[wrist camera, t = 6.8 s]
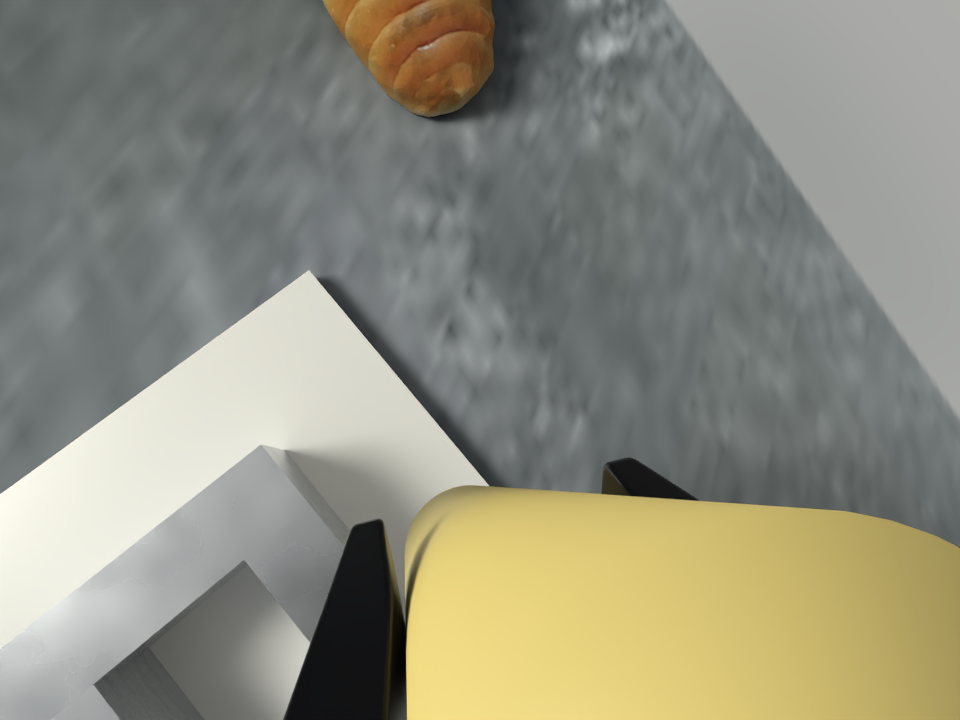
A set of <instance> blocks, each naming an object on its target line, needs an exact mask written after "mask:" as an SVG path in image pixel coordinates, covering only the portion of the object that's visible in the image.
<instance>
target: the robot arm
mask: <svg viewBox="0 0 960 720" xmlns="http://www.w3.org/2000/svg"><path fill="white" fill-rule="evenodd" d="M602 494H607V495H621V496H635V497H650V498H664V499H678V500H693V501H700V500H698V499H696V498H695V497H693V496H692V495H690V494H689V493H687V492H686V491H684V490H682V489H681V488H679V487H678V486H676V485H675V484H673V483H672V482H670V481H668V480H667V479H665V478H664V477H662V476H661V475H659V474H658V473H656V472H654V471H653V470H651V469H650V468H648V467H647V466H645V465H644V464H642V463H640V462H639V461H637V460H635V459H633V458H624V459H620V460H615V461H611V462H608V463H606V464H605V466H604V468H603V477H602ZM283 720H407V679H406V626H405V620H404V615H403V610H402V604H401V599H400V593H399V588H398V582H397V577H396V571H395V566H394V561H393V557H392V553H391V549H390V545H389V541H388V536H387V532H386V528H385V525H384V522H383V520H381V519H373V520H369V521H365V522H361V523H357V524H355V525H354V526H353V527H352V528H351V530H350V533H349V536H348V539H347V541H346V544H345V547H344V550H343V553H342V555H341V558H340V561H339V564H338V567H337V569H336V572H335V575H334V578H333V581H332V583H331V586H330V589H329V592H328V595H327V597H326V600H325V603H324V606H323V609H322V611H321V614H320V617H319V620H318V623H317V625H316V628H315V631H314V634H313V637H312V639H311V642H310V645H309V648H308V651H307V653H306V656H305V659H304V662H303V665H302V667H301V670H300V673H299V676H298V679H297V682H296V684H295V687H294V690H293V693H292V696H291V698H290V701H289V704H288V707H287V710H286V712H285V715H284V718H283Z"/></svg>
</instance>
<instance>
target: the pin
mask: <svg viewBox="0 0 960 720" xmlns="http://www.w3.org/2000/svg"><path fill="white" fill-rule="evenodd" d="M405 614H406V679H407V720H960V548H959V547H957V546H955V545H953V544H951V543H949V542H947V541H945V540H943V539H941V538H939V537H937V536H935V535H932V534H929V533H926V532H923V531H921V530H918V529H915V528H912V527H909V526H906V525H903V524H900V523H898V522H895V521H892V520H887V519H882V518H877V517H872V516H867V515H862V514H857V513H852V512H847V511H836V510H821V509H807V508H793V507H778V506H764V505H750V504H736V503H721V502H707V501H693V500H678V499H664V498H650V497H635V496H621V495H607V494H592V493H578V492H564V491H549V490H535V489H521V488H507V487H492V486H478V485H465V486H459V487H454V488H451V489H448V490H446V491H444V492H442V493H440V494H438V495H436V496H435V497H434V498H432V499H431V500H430V501H429V502H427V503H426V504H425V505H424V506H423V508H422V509H421V510H420V511H419V512H418V514H417V515H416V517H415V518H414V520H413V522H412V524H411V526H410V529H409V532H408V535H407V539H406V544H405Z"/></svg>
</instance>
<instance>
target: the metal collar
mask: <svg viewBox="0 0 960 720" xmlns="http://www.w3.org/2000/svg"><path fill="white" fill-rule="evenodd" d="M349 533H350V530H349V529H348V528H347V526H346V525H345V524H344V523H343V522H342V520H341V519H340V518H339V517H338V515H337V514H336V513H335V512H334V510H333V509H332V508H331V507H330V506H329V504H328V503H327V502H326V501H325V499H324V498H323V497H322V496H321V494H320V493H319V492H318V491H317V490H316V488H315V487H314V486H313V485H312V483H311V482H310V481H309V480H308V478H307V477H306V476H305V475H304V474H303V472H302V471H301V470H300V469H299V467H298V466H297V465H296V464H295V462H294V461H293V460H292V459H291V457H290V456H289V455H288V454H287V453H286V451H285V450H283V449H279V448H274V447H270V446H266V445H259V446H258V447H257V448H256V449H254V450H253V451H252V452H251V453H249V454H248V455H247V456H245V457H244V458H243V459H242V460H240V461H239V462H238V463H237V464H235V465H234V466H233V467H231V468H230V469H229V470H228V471H226V472H225V473H224V474H223V475H221V476H220V477H219V478H217V479H216V480H215V481H214V482H212V483H211V484H210V485H208V486H207V487H206V488H205V489H203V490H202V491H201V492H200V493H198V494H197V495H196V496H194V497H193V498H192V499H191V500H189V501H188V502H187V503H186V504H184V505H183V506H182V507H180V508H179V509H178V510H177V511H175V512H174V513H173V514H172V515H170V516H169V517H168V518H166V519H165V520H164V521H163V522H161V523H160V524H159V525H157V526H156V527H155V528H154V529H152V530H151V531H150V532H149V533H147V534H146V535H145V536H143V537H142V538H141V539H140V540H138V541H137V542H136V543H135V544H133V545H132V546H131V547H129V548H128V549H127V550H126V551H124V552H123V553H122V554H121V555H119V556H118V557H117V558H115V559H114V560H113V561H112V562H110V563H109V564H108V565H106V566H105V567H104V568H103V569H101V570H100V571H99V572H98V573H96V574H95V575H94V576H92V577H91V578H90V579H89V580H87V581H86V582H85V583H84V584H82V585H81V586H80V587H78V588H77V589H76V590H75V591H73V592H72V593H71V594H70V595H68V596H67V597H66V598H64V599H63V600H62V601H61V602H59V603H58V604H57V605H55V606H54V607H53V608H52V609H50V610H49V611H48V612H47V613H45V614H44V615H43V616H41V617H40V618H39V619H38V620H36V621H35V622H34V623H33V624H31V625H30V626H29V627H27V628H26V629H25V630H24V631H22V632H21V633H20V634H18V635H17V636H16V637H15V638H13V639H12V640H11V641H10V642H8V643H7V644H6V645H4V646H3V647H2V648H1V649H0V720H204V718H203V717H202V716H201V714H200V713H199V712H198V711H197V709H196V708H195V707H194V705H193V704H192V703H191V702H190V700H189V699H188V698H187V696H186V695H185V694H184V692H183V691H182V690H181V689H180V687H179V686H178V685H177V683H176V682H175V681H174V680H173V678H172V677H171V676H170V674H169V673H168V672H167V670H166V669H165V668H164V667H163V665H162V664H161V663H160V661H159V660H158V659H157V658H156V656H155V655H154V654H153V652H152V651H151V650H150V648H149V647H150V646H151V645H152V644H153V643H154V642H156V641H157V640H158V639H159V638H160V637H162V636H163V635H164V634H165V633H166V632H168V631H169V630H170V629H171V628H172V627H174V626H175V625H176V624H177V623H179V622H180V621H181V620H182V619H183V618H185V617H186V616H187V615H188V614H189V613H191V612H192V611H193V610H194V609H195V608H197V607H198V606H199V605H200V604H201V603H203V602H204V601H205V600H206V599H207V598H209V597H210V596H211V595H212V594H213V593H215V592H216V591H217V590H218V589H219V588H221V587H222V586H223V585H224V584H225V583H227V582H228V581H229V580H230V579H232V578H233V577H234V576H235V575H236V574H238V573H239V572H240V571H241V570H242V569H244V568H245V567H246V566H247V565H249V567H250V568H251V569H252V570H253V572H254V573H255V574H256V575H257V577H258V578H259V579H260V580H261V582H262V583H263V584H264V586H265V587H266V588H267V589H268V591H269V592H270V593H271V594H272V596H273V597H274V598H275V599H276V601H277V602H278V603H279V604H280V606H281V607H282V608H283V609H284V611H285V612H286V613H287V614H288V616H289V617H290V618H291V619H292V621H293V622H294V623H295V625H296V626H297V627H298V628H299V630H300V631H301V632H302V633H303V635H304V636H305V637H306V638H307V640H308V641H309V642H311V639H312V637H313V634H314V631H315V628H316V625H317V623H318V620H319V617H320V614H321V611H322V609H323V606H324V603H325V600H326V597H327V595H328V592H329V589H330V586H331V583H332V581H333V578H334V575H335V572H336V569H337V567H338V564H339V561H340V558H341V555H342V553H343V550H344V547H345V544H346V541H347V539H348V536H349ZM399 593H400V592H399ZM400 599H401V604H402V610H403V615H404V620H405V626H406V614H405V598H404V597H403V595H402V594H401V593H400Z"/></svg>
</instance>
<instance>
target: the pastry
mask: <svg viewBox="0 0 960 720" xmlns="http://www.w3.org/2000/svg"><path fill="white" fill-rule="evenodd" d="M322 1H323V3H324V5H325V7H326V9H327V11H328V13H329V14H330V16H331V17H332V18H333V20H334V22H335V24H336V26H337V27H338V29H339V30H340V32H341V33H342V35H343V36H344V38H345V40H346V41H347V43H348V44H349V46H350V47H351V48H352V49H353V51H354V52H355V53H356V55H357V56H358V58H359V59H360V60H361V61H362V63H363V64H364V65H365V66H366V68H367V69H368V70H369V72H370V73H371V74H372V76H373V77H374V78H375V80H376V81H377V82H378V83H379V85H380V86H381V87H382V89H383V90H384V91H385V92H386V94H387V95H388V96H389V97H390V98H392V99H393V100H395V101H397V102H398V103H400V104H401V105H402V106H404V107H405V108H406V109H408V110H409V111H410V112H412V113H414V114H416V115H421V116H426V117H434V116H438V115H441V114H447V113H450V112H454V111H456V110H458V109H460V108H461V107H463V106H464V105H465V104H466V103H467V102H468V101H469V100H470V99H471V98H472V97H474V96H475V95H476V94H477V93H478V92H479V91H480V89H481V88H482V86H483V85H484V83H485V82H486V80H487V79H488V78H489V76H490V75H491V73H492V72H493V70H494V61H493V54H494V53H493V35H494V30H495V21H494V17H493V13H492V6H491V0H322Z"/></svg>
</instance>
